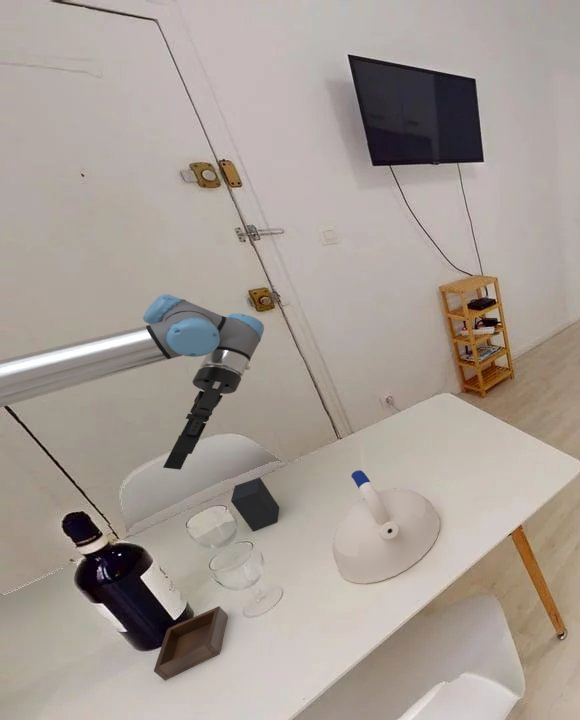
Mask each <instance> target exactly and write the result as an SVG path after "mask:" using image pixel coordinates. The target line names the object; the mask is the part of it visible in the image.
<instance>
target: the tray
mask: <svg viewBox="0 0 580 720" xmlns="http://www.w3.org/2000/svg"><path fill="white" fill-rule="evenodd" d="M228 617H229V616H228V614H227V613H226V612H225V611H224V609H223V608H221V606H220V605H218V606H216V607H214V608H211V609H209V610H207V611H204V612H202V613H200V614H198V615H196V616H194V617H193V616H192V617H191V618H189V619H187V620H184V621H182V622H178V623H177V624H175V625H173V626H171V627H168V628H167V630H166V632H165V635H164V638H163V641H162V644H161V646H160V650H159V653H158V656H157V659H156V663H155V666H154V669H153V672H154V673H155V674H156V675H157V676H158V677H160V678H161V679H162V680H163V681H166V680H169V679H170V678H173V677H174V676H177V675H179V674H181V673H183V672H184V671H188V670H189V669H191V668H194V667H195V666H198V665H200V664H201V663H204V662H206V661H208V660H210V659H213V658H214V657H216V656H218V655H220V654H221V649H222V645H223V639H224V636H225V630H226V626H227V620H228Z"/></svg>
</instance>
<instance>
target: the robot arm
mask: <svg viewBox="0 0 580 720" xmlns="http://www.w3.org/2000/svg"><path fill="white" fill-rule="evenodd" d="M142 320H143V322H145V323H146V324H148V325H141V326H137V327H134V328H133V327H132V328H129V329H124V330H120V331H117V332H113V333H108V334H105V335H100V336H96V337H91V338H87V339H84V340H79V341H75V342H71V343H67V344H62V345H58V346H54V347H49V348H46V349H41V350H37V351H33V352H28V353H24V354H21V355H15V356H11V357H8V358H4V359H0V408H4V407H7V406H10V405H14V404H17V403H22V402H24V401H28V400H31V399H35V398H38V397H42V396H45V395H49V394H52V393H56V392H59V391H63V390H67V389H70V388H74V387H77V386H80V385H84V384H87V383H91V382H94V381H97V380H102V379H104V378H107V377H113V376H116V375H119V374H122V373H123V374H124V373H126V372H129V371H133V370H137V369H140V368H142V367H147V366H150V365H154V364H158V363H162V362H164V361H168V360H171V359H175V358H179V357H183V356H184V357H189V358H191V357H192V358H197V357H203V356H204V358H203V360H202V362H201V363H200V368H199V369H198V370H197V372H196V373H195V376H194V377H193V379H192V385H193V386H194V387H196V388H197V389H199V391H198V393H197V395H196V396H195V398H194V400H193V402H194V403H193V405H192V407H191V409H190V411H189V413H187V414H186V417H185V418H184V419H186V420H187V422H186V424H185V426H184V428H183V429H182V431H181V433H180V434H179V435H178V437H177V439H176V441H175V444H174V445H173V447H172V449H171V450H170V453H169V455H168V457H167V459H166V461H165V463H164V465H163V466H162V468H163V469H170V470H179V471H180V470H181V469H182V468H183V466H184V463H185V462H186V459H187V458H188V455H192V454H193V453H194V451H195V448H196V446H197V444H198V443H199V440H200V438H201V436H202V434H203V432H204V430H205V428H206V426H207V424H208V423H207V422H208V421H209V420H210V416H213V411H214V410H215V408H217V406H218V405H219V403H220V402H221V401H222V398H223V397H224V396H223V395H228V394H233V393H235V392H236V391H237V389H238V387H239V385H240V383H241V382H242V377H243V376H244V375H245V372H246V371H249V370H251V366H249V364H250V361H251V359H252V357H253V355H254V353H255V352H256V349H257V347H258V345H259V343H261V340H262V337H263V334H264V331H265V325H264V323H263V322H262V321H261V320H260V319H258V318H256V317H255V316H252V315H247V314H244V313H240V312H239V313H231V314H228V315H227V316H225V315H221V314H219V313H216V312H213V311H211V310H209V309H206V308H204V307H202V306H199V305H197V304H195V303H193V302H190V301H187V299H184V298H180V297H178V296H174V295H172V294H168V293H164V294H161V295H159V296H158V297H156V298H155V300H153V301H152V303H151V304H150V305H149V306H148V308H147V309H146V311H145V312H144V314H143V316H142Z"/></svg>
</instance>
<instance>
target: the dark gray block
mask: <svg viewBox="0 0 580 720" xmlns="http://www.w3.org/2000/svg"><path fill="white" fill-rule="evenodd" d="M230 503H232V505H233V506H234V507H235V509H236V511H237V512H238V513H239V515H240V516H241V517H242V519H243V520H244V521H245V523H246V524H247V525H248V527H249V528H250V530H251V531H252V532H256V531H258V530H261V529H263V528H266V527H268V526H271V525H273V524H277V523H278V519H279V512H280V506H279V505H278V503H277V501H276V499H275V498H274V497H273V495H272V493H271V492H270V491H269V489H268V487H267V485H265V483H264V481H263V479H262V478H261V477H257V478H254V479H251V480H248V481H245V482H242V483H239V484H236V485H234V488H233V493H232V496H231V498H230Z"/></svg>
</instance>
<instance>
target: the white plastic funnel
mask: <svg viewBox="0 0 580 720" xmlns="http://www.w3.org/2000/svg"><path fill="white" fill-rule="evenodd" d="M350 475H351V479H353V482H354V483H355V485H356V486H357V488H358V490H359V491H360V493H361V495H362V497H363V498H362V499H361V500H359V501H358V502H356V503H355V504H354V505H353V506H351V507H350V508H349V510H348V511H347V512H346V513H345V514H344V516H343V517H342V519H341V521H339V524H338V526H337V528H335V532H334V535H333V540H332V547H331V548H332V550H331V551H332V555H333V559H334V562H335V564H336V567H337V570H338V572H339V574H340V575H341V576H342V578H343V579H344V580H347V581H349V582H351V583H356V584H364V585H365V584H372V583H378V582H382V581H385V580H389V579H390V578H393V577H396V576H398V575H399V574H401V573H403V572H405V571H406V570H409V568H411V567H412V566H414V565H415V564H416V563H418V562H419V561H421V559H422V558H423V557H424V555H426V554H427V552H429V550H430V549H431V548H432V546H433V544H434V543H435V542H436V540H437V538H438V535H439V533H440V530H441V519H440V517H439V514H438V512H437V511H436V510H435V507H434V506H433V505H432V503H431V501H430V500H428V498H427V497H426V496H424V495H422V494H421V493H419V492H417V491H415V490H412V489H406V488H396V487H395V488H394V487H393V488H386V489H382V490H380V491H379V490H378V491H377V490H376V488H375V487H374V486H373V485H374V484H372V482H371V480H370V479H369V477H368V476H367V474H366V473H365V472H364V471H363V470H361V469H359V470H355V471H353V472H352V473H351V474H350Z"/></svg>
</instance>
